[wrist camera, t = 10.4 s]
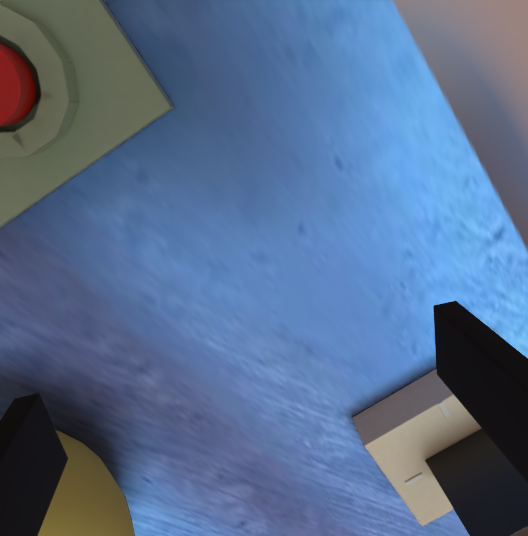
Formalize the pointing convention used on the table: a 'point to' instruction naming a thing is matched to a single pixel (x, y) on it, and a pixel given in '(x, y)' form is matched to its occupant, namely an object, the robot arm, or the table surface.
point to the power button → (14, 87)
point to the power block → (70, 96)
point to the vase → (86, 498)
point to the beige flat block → (415, 440)
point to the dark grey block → (482, 487)
